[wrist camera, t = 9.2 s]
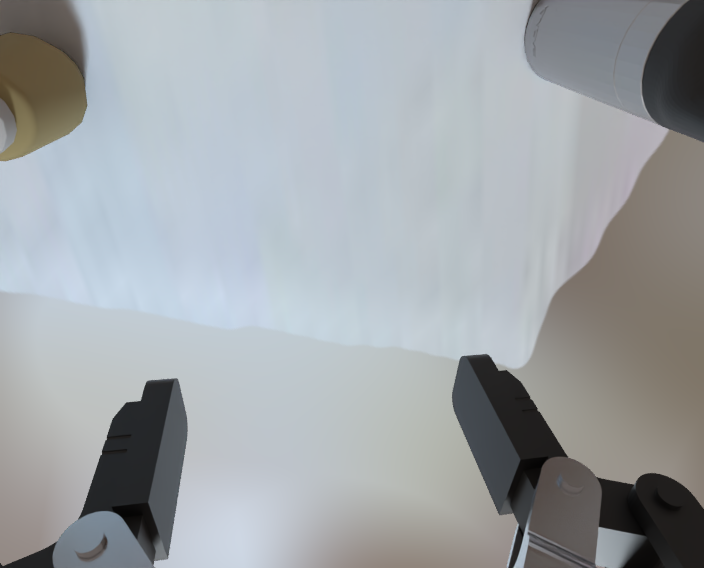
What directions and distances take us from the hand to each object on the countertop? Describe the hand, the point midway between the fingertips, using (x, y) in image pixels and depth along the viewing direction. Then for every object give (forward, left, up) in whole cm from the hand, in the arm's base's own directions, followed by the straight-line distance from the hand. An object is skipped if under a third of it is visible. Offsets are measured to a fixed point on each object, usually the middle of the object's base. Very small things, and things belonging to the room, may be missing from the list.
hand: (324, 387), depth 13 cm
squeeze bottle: (+20, -1, -38) cm, 43 cm away
